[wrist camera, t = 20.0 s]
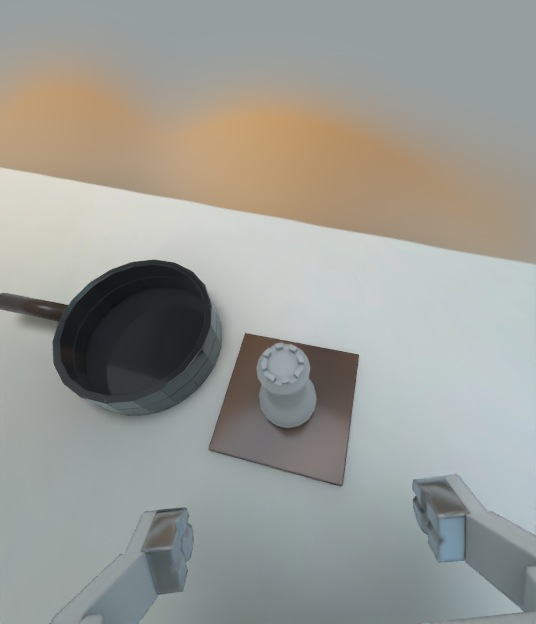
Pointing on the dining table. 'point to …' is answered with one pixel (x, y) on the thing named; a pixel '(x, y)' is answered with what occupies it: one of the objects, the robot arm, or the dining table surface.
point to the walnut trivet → (296, 440)
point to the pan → (138, 338)
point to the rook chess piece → (285, 385)
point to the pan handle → (32, 306)
